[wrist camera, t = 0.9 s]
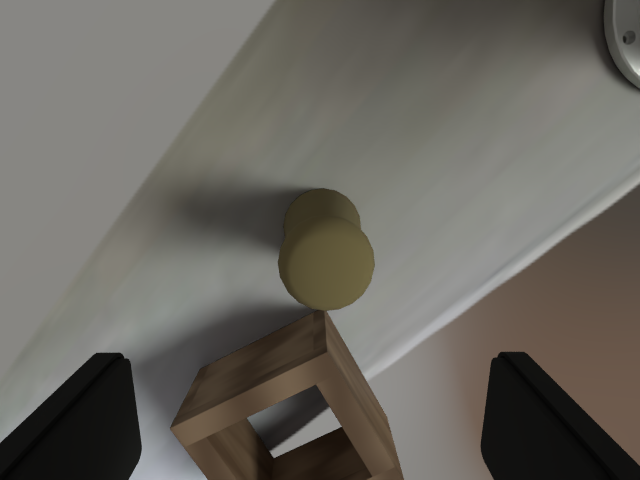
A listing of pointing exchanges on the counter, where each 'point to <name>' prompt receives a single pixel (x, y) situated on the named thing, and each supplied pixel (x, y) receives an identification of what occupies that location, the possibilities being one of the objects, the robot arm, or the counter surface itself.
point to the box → (274, 386)
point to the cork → (325, 251)
